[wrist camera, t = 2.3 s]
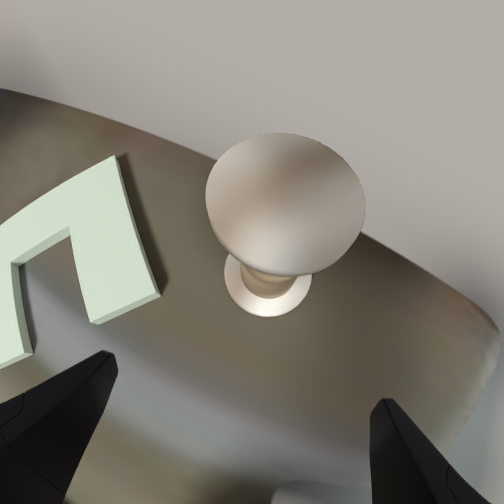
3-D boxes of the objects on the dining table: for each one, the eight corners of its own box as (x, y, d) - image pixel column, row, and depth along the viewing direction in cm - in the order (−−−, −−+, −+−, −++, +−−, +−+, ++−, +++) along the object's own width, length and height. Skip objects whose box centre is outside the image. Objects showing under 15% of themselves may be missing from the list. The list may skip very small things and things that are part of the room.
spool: (324, 268, 24) (387, 187, 12) (275, 334, 22) (309, 306, 10) (260, 221, 25) (270, 114, 14) (207, 281, 23) (171, 201, 12)
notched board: (161, 296, 23) (155, 292, 21) (0, 368, 19) (-9, 367, 17) (118, 163, 28) (114, 155, 26) (-14, 246, 24) (-21, 241, 22)
